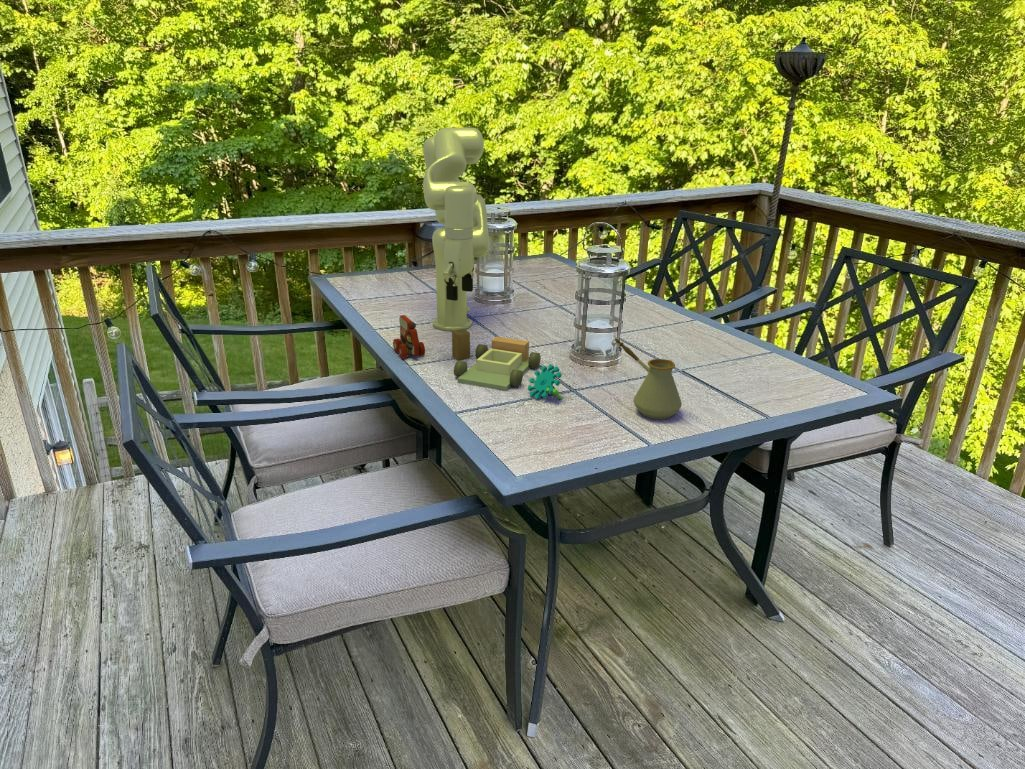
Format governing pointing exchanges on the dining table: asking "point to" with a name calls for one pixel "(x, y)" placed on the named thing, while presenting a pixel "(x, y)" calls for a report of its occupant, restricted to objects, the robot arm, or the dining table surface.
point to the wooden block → (461, 344)
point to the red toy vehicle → (408, 339)
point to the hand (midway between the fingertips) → (459, 295)
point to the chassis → (498, 364)
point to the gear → (545, 382)
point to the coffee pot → (656, 388)
